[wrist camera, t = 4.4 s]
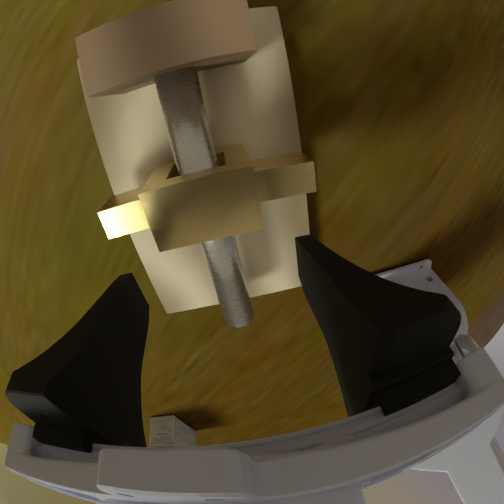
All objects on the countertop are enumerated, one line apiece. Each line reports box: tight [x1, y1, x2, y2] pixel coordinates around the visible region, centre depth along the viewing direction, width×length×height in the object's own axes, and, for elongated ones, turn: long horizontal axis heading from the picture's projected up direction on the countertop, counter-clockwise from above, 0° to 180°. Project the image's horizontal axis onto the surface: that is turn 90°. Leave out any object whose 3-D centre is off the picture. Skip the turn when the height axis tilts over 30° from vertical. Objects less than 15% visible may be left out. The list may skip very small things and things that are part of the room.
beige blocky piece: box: [75, 0, 310, 314], centre depth 15 cm, size 12×20×7 cm, turn 10°
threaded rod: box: [154, 67, 254, 328], centre depth 15 cm, size 2×16×2 cm, turn 10°
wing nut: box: [98, 144, 316, 252], centre depth 14 cm, size 11×3×5 cm, turn 100°
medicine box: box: [149, 415, 197, 447], centre depth 34 cm, size 8×4×9 cm, turn 15°
